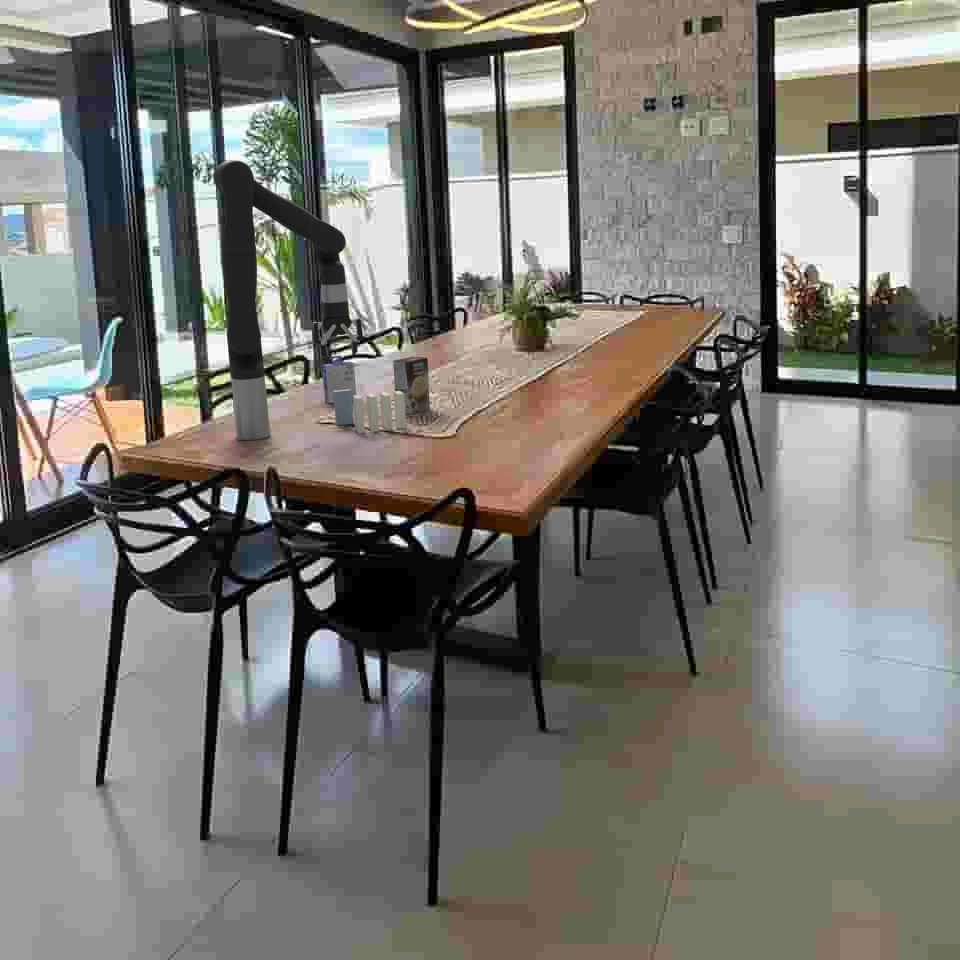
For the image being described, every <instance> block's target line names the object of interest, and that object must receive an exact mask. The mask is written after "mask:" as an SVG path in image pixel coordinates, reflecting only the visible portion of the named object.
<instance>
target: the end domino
mask: <svg viewBox="0 0 960 960" xmlns="http://www.w3.org/2000/svg"><path fill="white" fill-rule="evenodd" d="M333 395H334V404H333V406H334V418H335V425H336V426H345V425H346V426H347V425H352V424H353V423H354V424H355V420H354V406H353V400H352V393H351V390H350V389H346V390H337V391H333Z"/></svg>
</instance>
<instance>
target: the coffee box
mask: <svg viewBox="0 0 960 960" xmlns="http://www.w3.org/2000/svg"><path fill="white" fill-rule="evenodd" d="M392 361H393V362H392V363H393V380H394V381H393V382H394V383H393V385H394V391H401V392H402V393H404V401H405V415H413V414H416V412H417V413H419V412H423V411H424V412H425V411H428V410H430V409H431V403H430V402H431V400H430V399H431V398H430V384H429V382H430V380H429V379H430V378H429V362H428V361H429V360H428V357H424V356H409V357H404V358H399V359H394V360H392Z"/></svg>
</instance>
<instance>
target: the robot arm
mask: <svg viewBox="0 0 960 960" xmlns="http://www.w3.org/2000/svg"><path fill="white" fill-rule="evenodd" d="M213 182H214V184H215V185H214V186H215V187H216V188H217V189H218V191H219V192H221V194H223V200H224V201H223V202H224V209H225V221H224V227H223V232H222V238H221V263H222V273H223V280H224V287H225V292H226V296H227V302H228V325H227V331H226V342H227V349H228V359H229V370H230V378H231V379H230V380H231V381H230V382H231V387H232V397H233V398H232V399H233V404H232V405H233V414H234V415H233V417H234V426H235V434H236V438H237V439H238V441H254V440H255V441H256V440H261V439H265V438H268V437H271V427H270V426H271V425H270V418H269V417H270V416H269V407H268V406H269V405H268V398H267V397H268V395H267V385H266V378H265V377H266V375H265V374H266V373H265V364H264V359H263V358H264V357H263V347H262V345H263V344H262V334H261V331H260V326H259V325H260V324H259V318H258V314H257V313H258V312H257V286H258V259H257V257H258V256H257V245H256V232H255V224H254V208H255V209H256V210H258V211H260V212H261V213H263V214H265V216H267V217H269V218H271V219H272V220H274V221H275V222H276V223H278V224H279V225H280V226H283V227H285V228H286V229H287V230H289V231H290V232H292V233H293V234H295V235H297V236H298V237H300V238H302V239H305V240H307V241H310V242H312V243H313V244H314V251H315V256H316V258H317V263H318V265H319V275H320V284H321V285H320V288H321V289H320V301H321V308H322V321H320V322H316V321H313V322H312V323H311V325H312V342H313V343H315V344H316V345H319V350H320V351H319V352H320V355H321V357H323V358H324V359H326V358H327V357H328V355H327V346H326V343H327V341H328V340H329V338H330V337H331V336H332V337H336V336H345V335H346V336H347V337H348V338H349V339H350V340H351V341H350V344H351V345H350V346H351V355H352V356H357V354H358V352H359V351H358V342H359V341H362V340H363V339H364V334H363V333H364V332H363V327H362V321H361V319H360V318H357V317H356V318H354V319H351V317H350V307H349V295H348V294H349V293H348V288H347V280H346V270H345V265H344V264H343V263H342V262H341V259H340V253H341V252H342V251H344V249H345V248H346V245H347V242H346V241H347V240H346V237H345V235H344V233H343V232H342V231H341V230H339V228H338V227H335V226H333V225H332V224H329V223H327V222H325V221H323V220H322V219H320V218H318V217H316V216H315V215H314V214H312V213H310V212H309V211H308V210H306V209H305V208H303V207H302V206H300V205H298V204H296V203H295V202H293V201H291V200H289V199H288V198H286V197H284V196H282V195H280V194H278V193H276V192H274V191H272V190H270V189H269V188H267V187H265V186H264V185H262V184H261V183H259V182H258V181H257V180H255V177H254V173H253V170H252V169H251V167H250V166H249V165H248V164H247V163H246V162H244V161H242V160H237V159H235V160H234V159H233V160H226V161H224V162H221V163H220V164H219V165H217V166H216V167H215V170H214V172H213ZM352 325H353V326H354V327H355V329H356V335H354V333H353V332H352V331H351V330H350V329H349V328H350V327H351V326H352ZM321 327H323V328H324V330H325V331H324V333H323V334H322V336H321V338H320V339H319V331H320V330H321Z"/></svg>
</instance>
